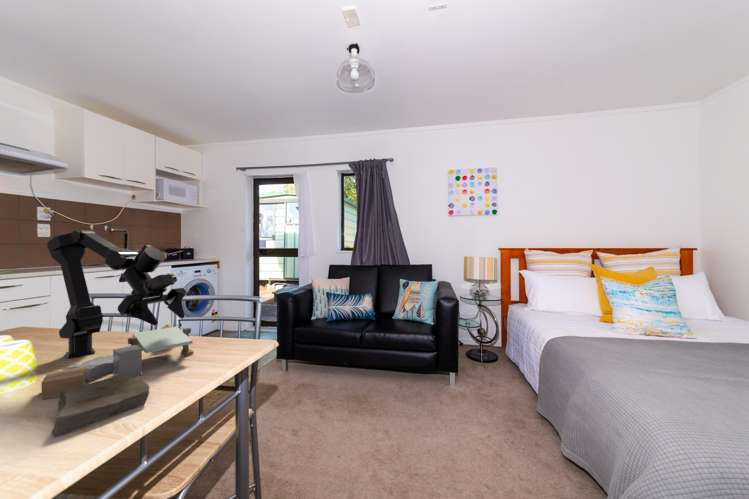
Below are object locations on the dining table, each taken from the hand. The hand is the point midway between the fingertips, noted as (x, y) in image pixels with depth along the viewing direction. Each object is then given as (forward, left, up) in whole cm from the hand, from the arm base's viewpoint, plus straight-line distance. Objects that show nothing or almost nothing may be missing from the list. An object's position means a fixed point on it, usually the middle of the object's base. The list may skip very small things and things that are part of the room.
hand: (170, 320), depth 94 cm
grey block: (+1, -11, -13) cm, 17 cm away
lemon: (-19, +4, -13) cm, 24 cm away
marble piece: (+18, -19, -14) cm, 29 cm away
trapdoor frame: (-7, -1, -13) cm, 15 cm away
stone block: (-9, -16, -14) cm, 23 cm away
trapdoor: (-6, -1, -11) cm, 12 cm away
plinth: (+1, -23, -13) cm, 26 cm away
